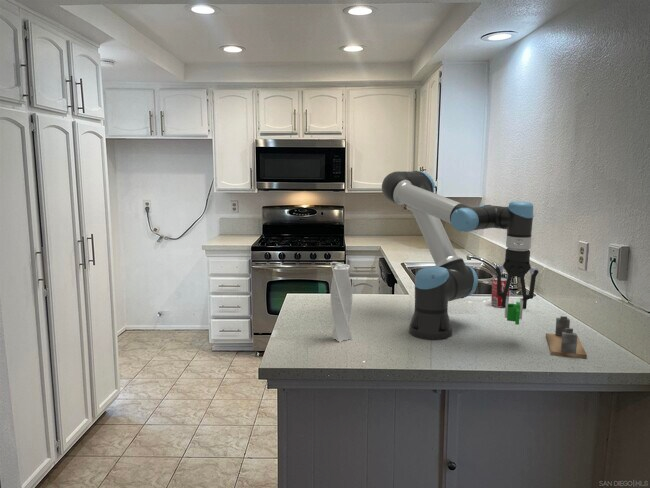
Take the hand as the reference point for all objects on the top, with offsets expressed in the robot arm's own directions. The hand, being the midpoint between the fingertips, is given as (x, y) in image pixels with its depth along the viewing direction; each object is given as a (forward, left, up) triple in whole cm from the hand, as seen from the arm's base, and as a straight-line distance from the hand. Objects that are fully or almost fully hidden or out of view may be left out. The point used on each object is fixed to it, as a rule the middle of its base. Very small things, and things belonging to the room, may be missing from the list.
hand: (513, 317), depth 162 cm
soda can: (-3, +47, -9) cm, 48 cm away
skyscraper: (-56, -13, -9) cm, 59 cm away
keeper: (+17, +2, -9) cm, 19 cm away
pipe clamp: (0, -1, -1) cm, 1 cm away
